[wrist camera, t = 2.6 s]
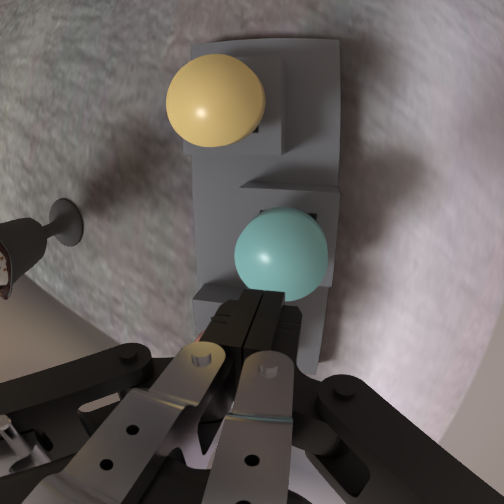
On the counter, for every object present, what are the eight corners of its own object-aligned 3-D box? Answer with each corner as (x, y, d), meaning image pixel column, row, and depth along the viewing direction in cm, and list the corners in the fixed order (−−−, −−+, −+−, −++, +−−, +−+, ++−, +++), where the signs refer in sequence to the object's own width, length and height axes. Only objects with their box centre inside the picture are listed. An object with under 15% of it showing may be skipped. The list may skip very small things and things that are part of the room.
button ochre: (195, 72, 17) (166, 60, 13) (272, 67, 16) (260, 50, 12) (196, 145, 19) (166, 148, 15) (272, 144, 18) (259, 146, 14)
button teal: (250, 195, 19) (233, 211, 16) (329, 200, 18) (331, 217, 15) (250, 267, 21) (235, 296, 17) (323, 273, 20) (322, 305, 16)
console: (199, 49, 19) (176, 36, 16) (338, 46, 17) (341, 27, 14) (210, 350, 29) (196, 378, 25) (316, 363, 27) (314, 394, 23)
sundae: (54, 177, 26) (-73, 222, 12) (97, 216, 26) (-35, 287, 12) (39, 227, 28) (-68, 284, 15) (78, 266, 29) (-29, 343, 15)
